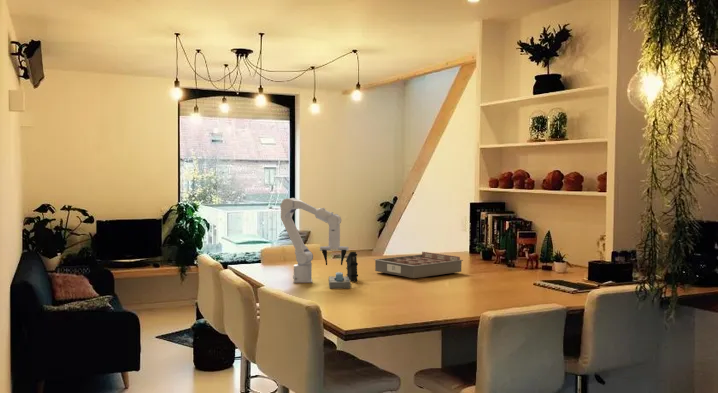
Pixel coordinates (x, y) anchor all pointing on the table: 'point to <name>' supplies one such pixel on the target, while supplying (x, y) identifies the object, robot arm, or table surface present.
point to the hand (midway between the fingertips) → (334, 264)
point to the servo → (339, 276)
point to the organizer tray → (419, 265)
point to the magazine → (352, 266)
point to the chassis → (339, 283)
